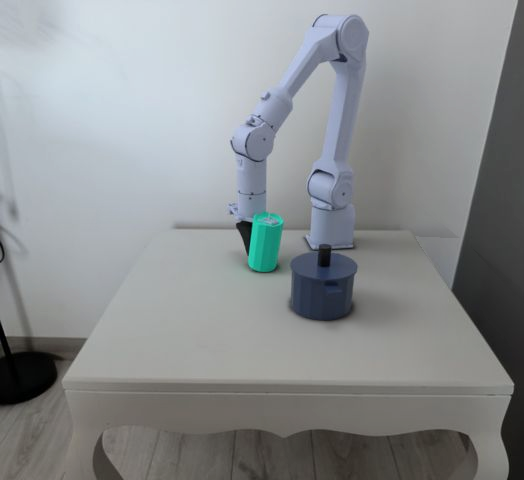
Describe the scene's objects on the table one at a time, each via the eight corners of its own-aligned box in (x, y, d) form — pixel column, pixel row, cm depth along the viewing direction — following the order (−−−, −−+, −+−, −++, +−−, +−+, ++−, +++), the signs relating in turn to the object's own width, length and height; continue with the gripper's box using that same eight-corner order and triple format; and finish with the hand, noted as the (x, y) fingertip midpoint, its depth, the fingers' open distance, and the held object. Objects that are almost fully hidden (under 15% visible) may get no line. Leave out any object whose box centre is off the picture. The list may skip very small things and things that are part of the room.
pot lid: (346, 255, 95) (348, 232, 92) (365, 283, 85) (368, 258, 83) (284, 258, 93) (285, 235, 91) (297, 287, 84) (298, 261, 81)
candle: (274, 274, 104) (282, 221, 96) (245, 268, 105) (251, 215, 97) (278, 258, 109) (286, 207, 101) (250, 253, 109) (257, 201, 101)
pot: (338, 283, 100) (341, 247, 96) (362, 326, 87) (367, 286, 83) (283, 287, 99) (284, 250, 95) (300, 330, 86) (302, 290, 82)
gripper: (213, 186, 103) (216, 249, 111) (259, 203, 94) (259, 271, 102) (241, 180, 107) (242, 241, 115) (288, 196, 98) (285, 262, 105)
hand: (252, 255), depth 108 cm, fingers closed
